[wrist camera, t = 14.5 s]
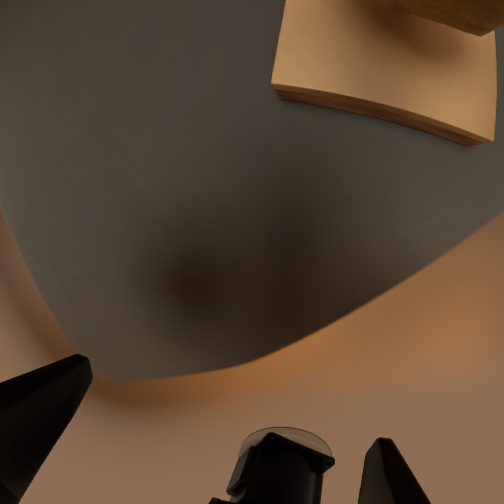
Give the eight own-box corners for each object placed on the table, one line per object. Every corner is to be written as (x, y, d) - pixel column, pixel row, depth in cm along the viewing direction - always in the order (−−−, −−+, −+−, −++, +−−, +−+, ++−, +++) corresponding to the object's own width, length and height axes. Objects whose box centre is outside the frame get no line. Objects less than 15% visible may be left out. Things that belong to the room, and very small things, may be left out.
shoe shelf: (468, -13, 12) (484, -35, 9) (468, 146, 15) (494, 142, 12) (306, -53, 14) (301, -82, 11) (280, 99, 17) (270, 83, 14)
